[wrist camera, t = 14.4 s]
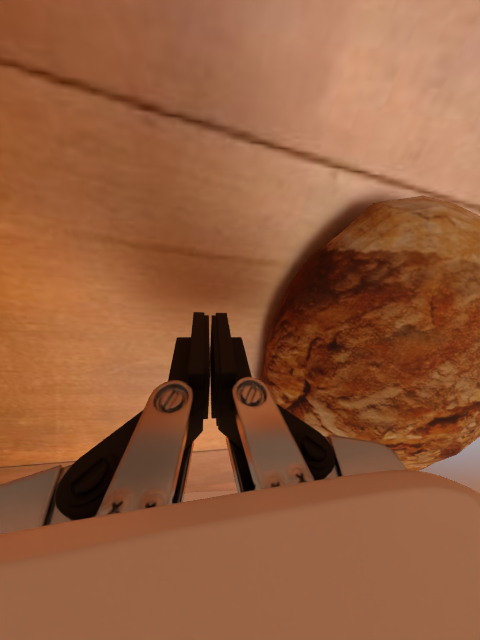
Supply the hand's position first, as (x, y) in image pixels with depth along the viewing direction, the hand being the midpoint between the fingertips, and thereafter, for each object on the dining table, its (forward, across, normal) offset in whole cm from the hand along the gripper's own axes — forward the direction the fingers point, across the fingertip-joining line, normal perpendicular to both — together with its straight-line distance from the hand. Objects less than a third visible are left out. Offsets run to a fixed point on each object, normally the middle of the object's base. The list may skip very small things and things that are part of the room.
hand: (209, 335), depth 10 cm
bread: (+5, -15, +2) cm, 16 cm away
